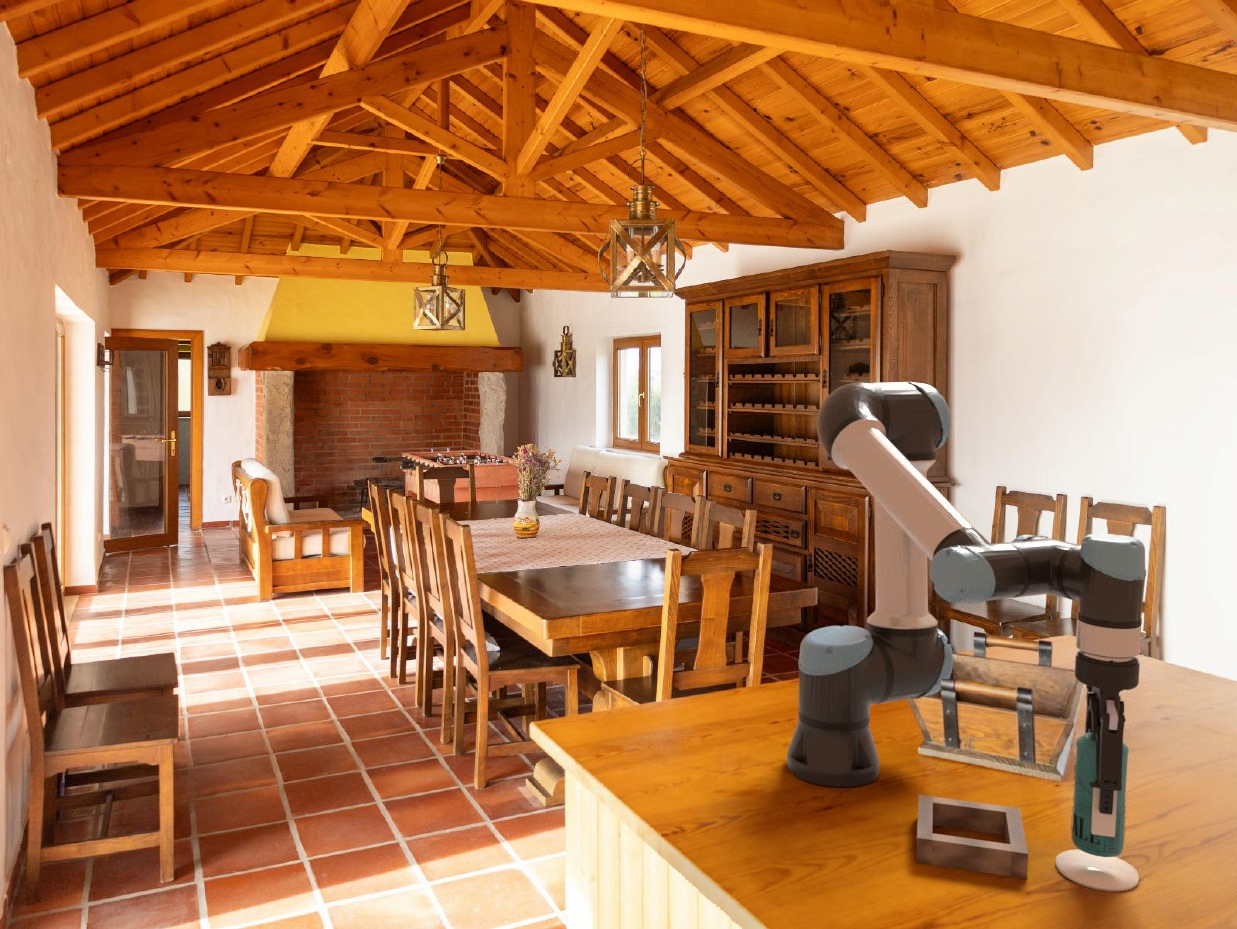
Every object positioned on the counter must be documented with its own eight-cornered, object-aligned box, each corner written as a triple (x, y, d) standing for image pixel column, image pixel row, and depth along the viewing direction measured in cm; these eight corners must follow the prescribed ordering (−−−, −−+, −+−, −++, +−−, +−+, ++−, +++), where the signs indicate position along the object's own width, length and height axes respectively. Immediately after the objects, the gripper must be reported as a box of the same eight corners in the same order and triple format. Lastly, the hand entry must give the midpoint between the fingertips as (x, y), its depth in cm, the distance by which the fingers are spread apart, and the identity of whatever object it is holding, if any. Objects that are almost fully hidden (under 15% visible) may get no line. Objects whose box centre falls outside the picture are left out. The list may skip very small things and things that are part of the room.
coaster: (1060, 883, 127) (1060, 880, 127) (1051, 848, 136) (1051, 844, 136) (1145, 896, 124) (1145, 893, 123) (1130, 859, 133) (1131, 855, 133)
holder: (916, 862, 132) (916, 837, 132) (918, 817, 145) (918, 794, 145) (1027, 878, 128) (1028, 853, 128) (1018, 831, 141) (1019, 807, 141)
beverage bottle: (1126, 853, 131) (1134, 709, 129) (1120, 874, 125) (1129, 724, 123) (1073, 839, 134) (1081, 699, 132) (1065, 860, 129) (1073, 714, 127)
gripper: (1155, 678, 117) (1144, 861, 119) (1125, 636, 135) (1117, 795, 137) (1086, 672, 119) (1077, 852, 121) (1066, 631, 137) (1059, 788, 140)
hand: (1098, 821), depth 129 cm, fingers closed on beverage bottle, 6 cm apart
